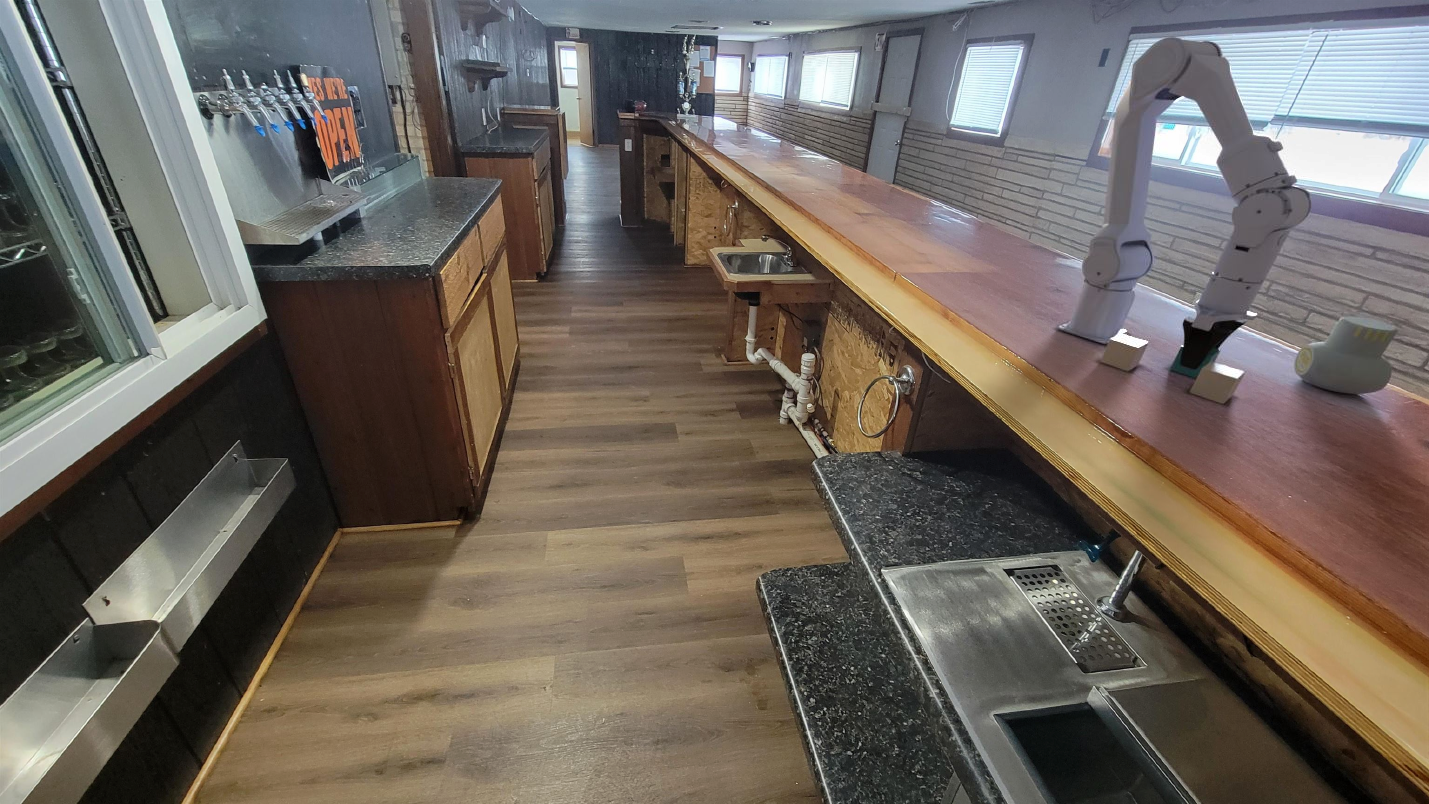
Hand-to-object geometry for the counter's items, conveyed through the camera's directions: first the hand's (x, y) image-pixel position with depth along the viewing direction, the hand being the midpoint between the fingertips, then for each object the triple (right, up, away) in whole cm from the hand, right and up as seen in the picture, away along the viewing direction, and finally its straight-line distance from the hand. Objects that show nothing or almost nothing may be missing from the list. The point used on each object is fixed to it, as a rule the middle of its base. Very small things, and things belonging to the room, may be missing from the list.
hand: (1193, 363), depth 87 cm
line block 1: (-10, 0, +2) cm, 10 cm away
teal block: (0, -1, +1) cm, 1 cm away
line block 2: (-3, -5, -6) cm, 8 cm away
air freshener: (+19, -4, -1) cm, 20 cm away
